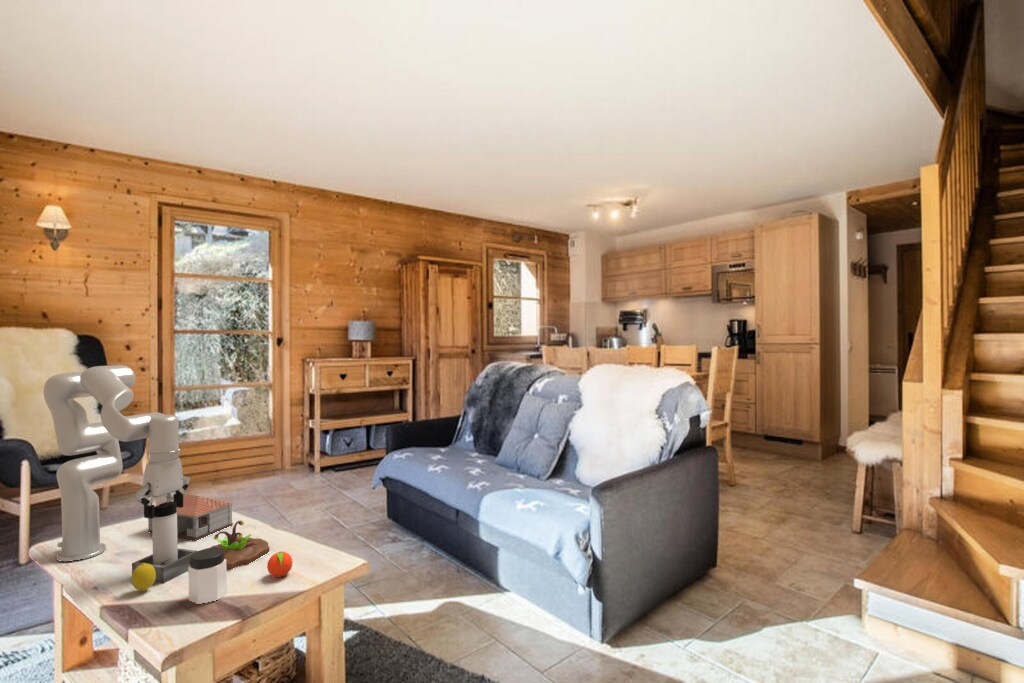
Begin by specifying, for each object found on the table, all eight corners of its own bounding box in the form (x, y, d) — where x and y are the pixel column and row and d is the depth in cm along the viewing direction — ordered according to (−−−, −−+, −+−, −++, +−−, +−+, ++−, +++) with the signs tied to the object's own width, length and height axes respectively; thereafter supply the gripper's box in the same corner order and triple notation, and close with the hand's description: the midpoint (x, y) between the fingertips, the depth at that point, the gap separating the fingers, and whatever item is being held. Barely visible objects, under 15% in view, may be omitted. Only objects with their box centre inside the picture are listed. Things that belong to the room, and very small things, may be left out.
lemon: (152, 584, 149) (151, 557, 148) (158, 590, 145) (158, 562, 145) (129, 592, 144) (128, 563, 144) (135, 598, 141) (134, 569, 141)
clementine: (294, 579, 151) (294, 555, 151) (268, 585, 148) (268, 560, 148) (291, 568, 158) (291, 545, 158) (266, 573, 155) (266, 550, 155)
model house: (147, 534, 188) (146, 493, 187) (187, 519, 202) (186, 481, 202) (194, 542, 179) (193, 499, 179) (232, 526, 194) (232, 486, 194)
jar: (203, 588, 146) (202, 546, 146) (231, 588, 146) (231, 546, 146) (182, 605, 137) (181, 560, 137) (213, 605, 137) (212, 560, 137)
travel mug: (166, 573, 153) (165, 506, 153) (147, 572, 154) (146, 505, 154) (183, 564, 159) (182, 500, 159) (165, 562, 160) (164, 499, 160)
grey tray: (132, 578, 152) (131, 563, 152) (168, 561, 164) (168, 547, 164) (163, 583, 149) (163, 567, 149) (199, 565, 161) (198, 550, 161)
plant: (281, 551, 171) (281, 518, 171) (223, 576, 154) (223, 538, 154) (245, 540, 181) (244, 508, 181) (187, 561, 164) (186, 526, 164)
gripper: (179, 449, 165) (179, 502, 166) (126, 462, 149) (126, 521, 149) (198, 450, 164) (198, 504, 164) (146, 464, 147) (146, 523, 147)
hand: (164, 512), depth 157 cm, fingers open, 9 cm apart
